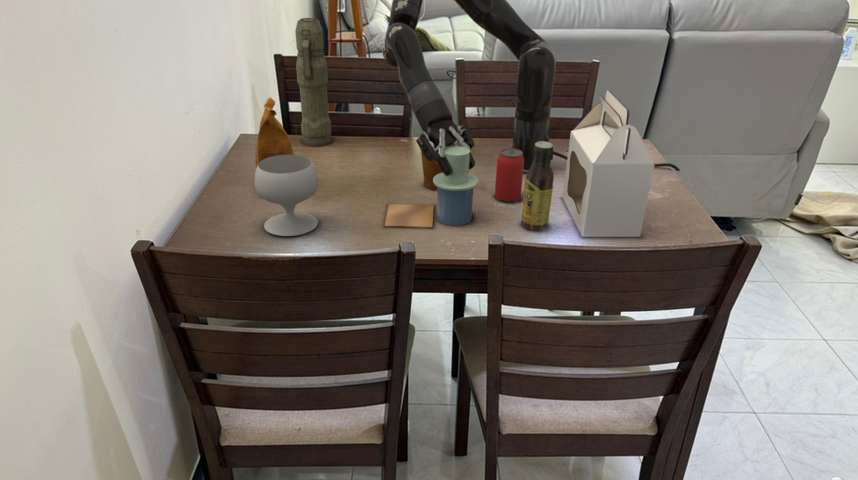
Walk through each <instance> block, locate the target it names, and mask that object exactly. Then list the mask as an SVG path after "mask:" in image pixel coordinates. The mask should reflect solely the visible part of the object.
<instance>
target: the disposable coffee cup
mask: <svg viewBox="0 0 858 480" xmlns="http://www.w3.org/2000/svg"><path fill="white" fill-rule="evenodd" d="M429 142H430V144H431V145H432V147H433V143H432V142H431V141H429ZM446 147H448V146H446ZM446 147H445V148H446ZM449 147H450V146H449ZM418 148H419V150H420V155H421V164H422V171H423V172H422V173H423V181H424V186H425V187H426V188H427V189H430V190H438V187H437V186H435V185H434V183H433V178H434V176H436V175H437V174H440V173H443V172H442V170H441V168H440V166H439V164H438V162H436V161H431V162H430V161H428V160H427V158H426V157H425V155H424V153H423V152H422V150H421V149H420V147H419V146H418ZM445 148H444V149H445ZM429 153H430V152H429Z"/></svg>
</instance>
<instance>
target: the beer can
mask: <svg viewBox="0 0 858 480" xmlns="http://www.w3.org/2000/svg"><path fill="white" fill-rule="evenodd" d="M523 168H524V157H523V152H522V151H521V150H518V149H514V148H512V147H507V148H503V149H501V150H499V154H498V156H497V160H496V171H495V184H494V185H495V186H494V196H495V198H496V199H497V200H499V201H501V202H505V203H513V202H516V201H519V200H520V199H521V198H522V189H523V188H522V187H523V176H524V173H523Z"/></svg>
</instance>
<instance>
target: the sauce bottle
mask: <svg viewBox="0 0 858 480" xmlns="http://www.w3.org/2000/svg"><path fill="white" fill-rule="evenodd" d="M534 151H535V152H534V160H533V163H532V165H531V167H530V169H529V171H528V173H526V175H525V179H524V188H523V189H524V190H523V196H522V197H523V198H522V208H521V217H520V219H521V226H522V227H524V228H525V229H527V230H531V231H541V230H544V229H546V228H547V226H548V222H549V219H550V211H551V204H552V196H553V190H554V178H555V173H554V170H553V167H552V166H551V163H552V160H551V154H552V151H554V144H553V143H551V142H545V141H540V142H537V143H535V146H534Z"/></svg>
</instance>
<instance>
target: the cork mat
mask: <svg viewBox="0 0 858 480" xmlns="http://www.w3.org/2000/svg"><path fill="white" fill-rule="evenodd" d="M434 206H435V205H434V204H404V203H403V204H402V203H399V204H398V203H389V204H388V206H387V211H386V217H385V222H384V228H404V229H405V228H407V229H433V227H434V224H433V223H434V208H435V207H434Z"/></svg>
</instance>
